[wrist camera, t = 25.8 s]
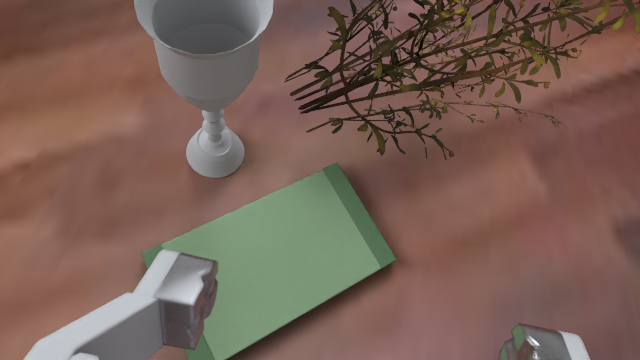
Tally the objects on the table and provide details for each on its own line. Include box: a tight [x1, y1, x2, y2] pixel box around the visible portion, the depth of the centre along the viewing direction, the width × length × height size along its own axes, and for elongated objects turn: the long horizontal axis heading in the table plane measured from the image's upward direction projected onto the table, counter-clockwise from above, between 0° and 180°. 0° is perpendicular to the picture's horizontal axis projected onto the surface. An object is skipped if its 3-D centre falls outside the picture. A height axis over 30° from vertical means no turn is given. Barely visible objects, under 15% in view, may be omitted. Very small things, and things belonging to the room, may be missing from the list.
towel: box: [141, 163, 397, 360], centre depth 36 cm, size 18×10×1 cm, turn 120°
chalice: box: [134, 0, 273, 178], centre depth 31 cm, size 7×7×18 cm
